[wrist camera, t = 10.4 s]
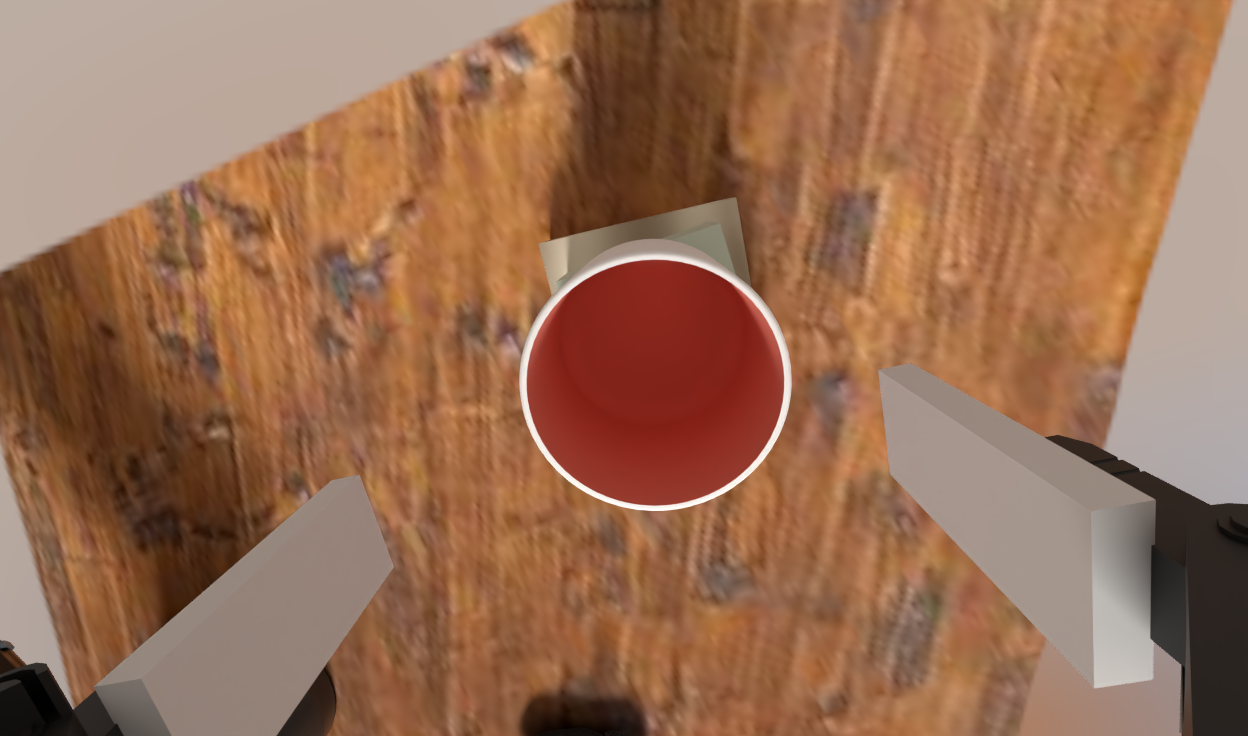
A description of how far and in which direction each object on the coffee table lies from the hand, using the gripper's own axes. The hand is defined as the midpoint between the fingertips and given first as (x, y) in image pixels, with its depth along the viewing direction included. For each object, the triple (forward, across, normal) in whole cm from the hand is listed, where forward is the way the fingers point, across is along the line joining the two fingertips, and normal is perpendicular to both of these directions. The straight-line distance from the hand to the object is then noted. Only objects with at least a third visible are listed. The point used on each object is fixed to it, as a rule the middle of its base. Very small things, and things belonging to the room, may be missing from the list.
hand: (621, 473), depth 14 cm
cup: (+17, +1, 0) cm, 17 cm away
